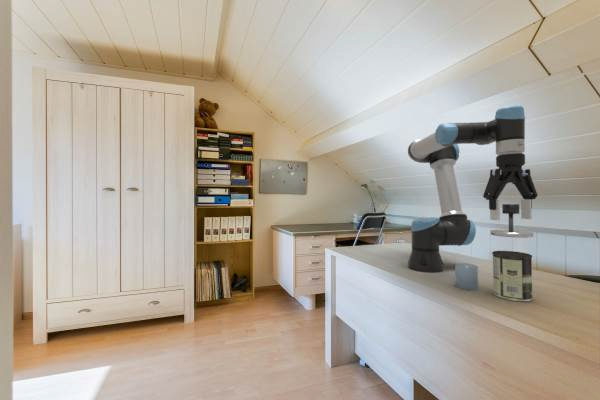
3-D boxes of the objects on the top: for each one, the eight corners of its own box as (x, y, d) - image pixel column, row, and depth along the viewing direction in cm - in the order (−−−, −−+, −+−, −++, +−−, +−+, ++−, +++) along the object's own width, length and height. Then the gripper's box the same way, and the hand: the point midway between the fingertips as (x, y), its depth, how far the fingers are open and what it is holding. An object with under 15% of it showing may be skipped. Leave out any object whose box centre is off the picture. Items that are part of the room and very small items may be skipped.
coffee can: (520, 291, 92) (519, 250, 92) (540, 303, 82) (540, 257, 82) (486, 289, 94) (486, 250, 94) (502, 300, 84) (502, 256, 84)
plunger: (482, 233, 92) (482, 204, 92) (508, 232, 95) (507, 203, 95) (514, 238, 81) (514, 204, 81) (542, 236, 84) (542, 204, 84)
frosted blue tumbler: (450, 285, 100) (450, 263, 100) (466, 283, 101) (466, 262, 101) (466, 291, 93) (466, 268, 93) (482, 289, 95) (482, 267, 95)
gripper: (490, 151, 81) (491, 221, 82) (551, 153, 87) (552, 219, 87) (469, 155, 89) (470, 219, 89) (527, 156, 94) (527, 217, 94)
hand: (510, 219), depth 88 cm, fingers open, 12 cm apart
